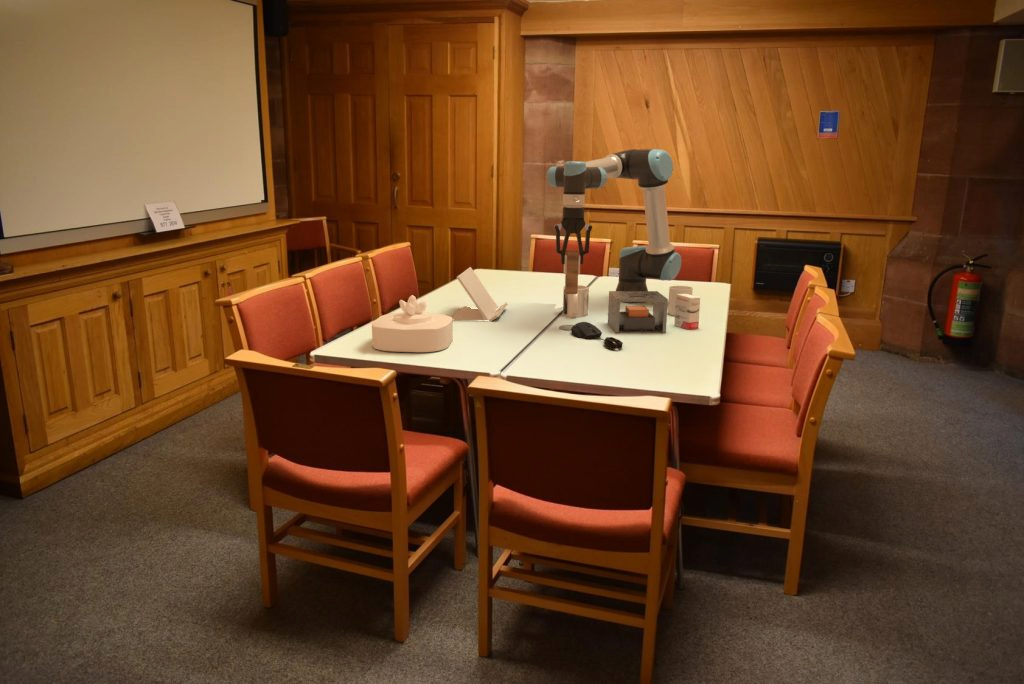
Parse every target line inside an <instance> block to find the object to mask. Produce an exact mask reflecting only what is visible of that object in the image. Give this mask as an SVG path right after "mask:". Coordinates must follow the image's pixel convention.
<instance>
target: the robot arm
mask: <svg viewBox="0 0 1024 684" xmlns="http://www.w3.org/2000/svg"><path fill="white" fill-rule="evenodd" d="M673 171H674V162H673V159H672V157H671V155H670V153H669V152H668V151H666V150H665V149H657V148H653V149H652V148H645V149H643V148H642V149H633V148H632V149H626V150H622V151H617V152H613V153H610V154H607V155H605V156H604V157H602V158H598V159H593V160H592V159H591V160H588V161H579V160H578V161H573V160H572V161H565V163H564V165H562V166H561V165H560V166H559V165H556V166H551V167H549V169H548V170H547V172H546V181H547V183H548V185H549V186H550V187H552V188H557V189H559V188H563V195H562V206H563V208H562V219H561V222H560V223H557V224H554V225H553V227H554V230H555V251H556V253H557V254H558V255H560V263H561V265H563V274H564V275H565V274H567V255H566V250H567V247H568V243H569V239H570V237H571V234H572V235H573V234H575V235H576V241H577V247H578V252H579V262H578V275H580V274H581V265H583V264H584V255H586V254H589V253H590V242H591V241H590V239H591V231H592V229H593V226H592V225H591V224H588V223H586V221H585V207H584V206H585V204H586V203H585V202H586V199H585V198H586V189H587V190H590V189H591V190H592V189H593V190H597V189H601V188H604V187H605V185H606V184H607V181H608V179H611V180H615V179H626V180H637V184H638V188H640V189H641V190H642V194H643V195H642V197H643V204H644V214H645V223H646V232H647V240H648V242H647V243H648V245H643V246H642V245H639V246H628V247H623V248H621V249H620V251H619V257H618V260H619V261H618V263H619V265H618V283H617V284H616V288H615V291H649V290H648V289H649V288H648V286H647V279H652V280H659V281H663V282H664V281H672V280H674V279H675V278H676V277H677V276H678V274H679V272H680V270H681V268H682V256H681V255H680V253H678V252H676V251H675V245H674V244H672V242H671V240H670V239H671V238H670V230H669V228H670V227H669V218H668V209H667V206H668V205H667V198H666V188H665V187H666V186H667V184H669V180H670V179H671V177H672V176H673ZM562 228H563V229H564V231H565V233H564V239H563V243H562V247H561V230H562ZM583 229H584V230H585V239H584V247H583V241H582V235H581V234H582V233H581V231H582V230H583ZM630 297H646V296H630ZM625 303H626V304H645V303H646V302H622V304H625Z"/></svg>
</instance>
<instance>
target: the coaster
mask: <svg viewBox="0 0 1024 684" xmlns="http://www.w3.org/2000/svg"><path fill="white" fill-rule="evenodd" d="M574 325H575V324H562V325H559V326H558V328H559V330H562V331H570V332H571V328H572V327H573V326H574Z"/></svg>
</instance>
